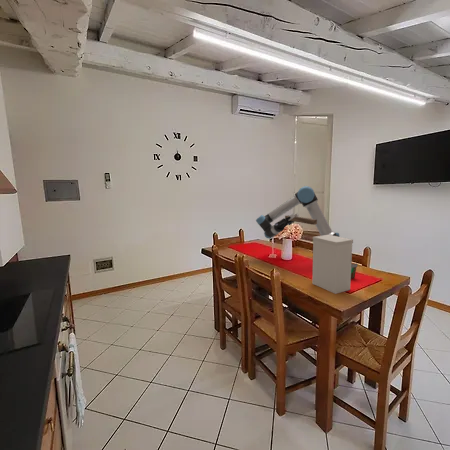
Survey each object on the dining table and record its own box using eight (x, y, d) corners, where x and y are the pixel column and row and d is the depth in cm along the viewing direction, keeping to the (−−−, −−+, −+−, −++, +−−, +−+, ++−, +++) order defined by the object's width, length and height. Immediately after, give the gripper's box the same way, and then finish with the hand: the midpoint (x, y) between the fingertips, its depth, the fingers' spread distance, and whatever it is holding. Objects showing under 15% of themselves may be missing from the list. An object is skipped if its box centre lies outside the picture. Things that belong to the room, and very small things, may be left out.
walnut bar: (288, 219, 194) (288, 215, 194) (316, 224, 169) (316, 219, 169) (285, 219, 193) (285, 215, 192) (313, 224, 168) (313, 219, 167)
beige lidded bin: (326, 280, 172) (328, 234, 168) (350, 289, 156) (353, 239, 152) (311, 283, 167) (312, 236, 162) (334, 294, 151) (336, 242, 146)
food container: (334, 275, 180) (334, 261, 178) (339, 273, 183) (339, 259, 182) (351, 280, 170) (352, 265, 169) (356, 278, 174) (357, 263, 172)
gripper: (287, 231, 206) (306, 219, 186) (270, 233, 199) (288, 221, 179) (284, 222, 209) (303, 209, 189) (267, 224, 202) (284, 211, 182)
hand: (295, 215), depth 184 cm, fingers closed on walnut bar, 3 cm apart
